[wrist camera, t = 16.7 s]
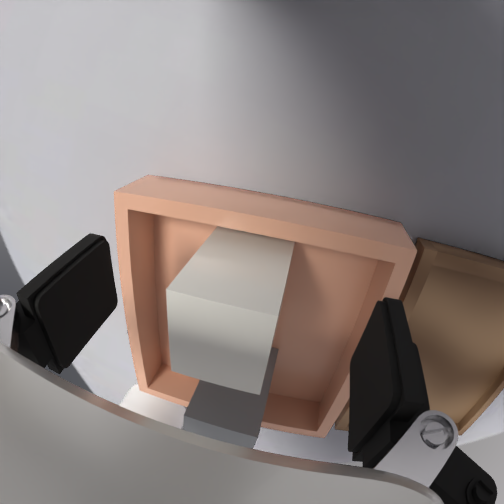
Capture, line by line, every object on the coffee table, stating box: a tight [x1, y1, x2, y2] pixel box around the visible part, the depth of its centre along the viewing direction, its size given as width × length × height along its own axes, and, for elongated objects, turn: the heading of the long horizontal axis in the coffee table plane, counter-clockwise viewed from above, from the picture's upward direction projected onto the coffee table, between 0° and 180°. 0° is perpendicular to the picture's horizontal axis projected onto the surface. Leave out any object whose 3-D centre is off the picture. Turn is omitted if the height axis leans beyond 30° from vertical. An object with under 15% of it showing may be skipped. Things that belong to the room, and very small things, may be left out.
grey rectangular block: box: [183, 347, 279, 449], centre depth 16 cm, size 4×3×6 cm
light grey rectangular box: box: [166, 226, 295, 395], centre depth 12 cm, size 4×3×6 cm
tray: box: [335, 238, 504, 435], centre depth 15 cm, size 14×11×1 cm
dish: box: [114, 175, 417, 438], centre depth 16 cm, size 13×12×3 cm
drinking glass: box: [119, 383, 186, 429], centre depth 17 cm, size 7×7×15 cm
